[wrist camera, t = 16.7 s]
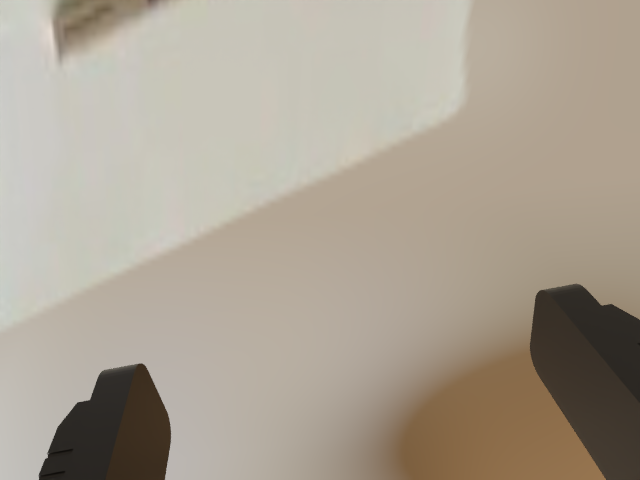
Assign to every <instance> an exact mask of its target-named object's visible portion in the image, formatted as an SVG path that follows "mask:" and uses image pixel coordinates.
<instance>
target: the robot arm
mask: <svg viewBox="0 0 640 480" xmlns="http://www.w3.org/2000/svg"><path fill="white" fill-rule="evenodd" d="M530 351H531V357H532V361H533V364H534V367H535V370H536V372H537V374H538V375H539V377H540V379H541V380H542V382H543V383H544V385H545V386H546V388H547V389H548V391H549V392H550V394H551V395H552V397H553V399H554V400H555V401H556V403H557V405H558V406H559V408H560V409H561V411H562V412H563V414H564V415H565V417H566V418H567V420H568V422H569V423H570V425H571V426H572V428H573V429H574V431H575V432H576V434H577V435H578V437H579V438H580V440H581V441H582V443H583V445H584V446H585V448H586V449H587V451H588V452H589V454H590V455H591V457H592V458H593V460H594V461H595V463H596V465H597V466H598V468H599V469H600V471H601V472H602V474H603V475H604V477H605V478H606V480H640V320H639V319H637V318H636V317H634V316H632V315H630V314H628V313H627V312H625V311H623V310H621V309H619V308H617V307H616V306H614V305H612V304H609V305H604V306H601V305H600V304H599V303H598V302H597V300H596V299H595V298H594V297H593V296H592V295H591V294H590V293H589V292H588V291H587V290H586V289H585V288H584V287H583V286H581V285H579V284H573V285H568V286H562V287H557V288H551V289H546V290H541V291H539V292H538V293H537V295H536V299H535V307H534V315H533V324H532V332H531V342H530ZM170 442H171V429H170V422H169V417H168V413H167V411H166V409H165V406H164V404H163V402H162V400H161V398H160V396H159V393H158V391H157V389H156V387H155V385H154V383H153V381H152V378H151V376H150V374H149V372H148V370H147V368H146V366H145V365H143V364H135V365H130V366H124V367H119V368H113V369H108V370H104V371H102V372H101V373H100V375H99V377H98V379H97V382H96V385H95V388H94V391H93V393H92V397H91V399H90V400H89V401H84V402H78V403H77V404H76V405H75V406H74V408H73V409H72V410H71V411H70V413H69V414H68V415H67V416H66V418H65V419H64V420H63V421H62V423H61V424H60V425H59V426H58V428H57V431H56V433H55V436H54V439H53V441H52V443H51V446H50V449H49V451H48V453H47V454H48V458H47V459H45V461H44V463H43V466H42V468H41V471H40V473H39V480H165V474H166V468H167V461H168V456H169V450H170Z"/></svg>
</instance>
